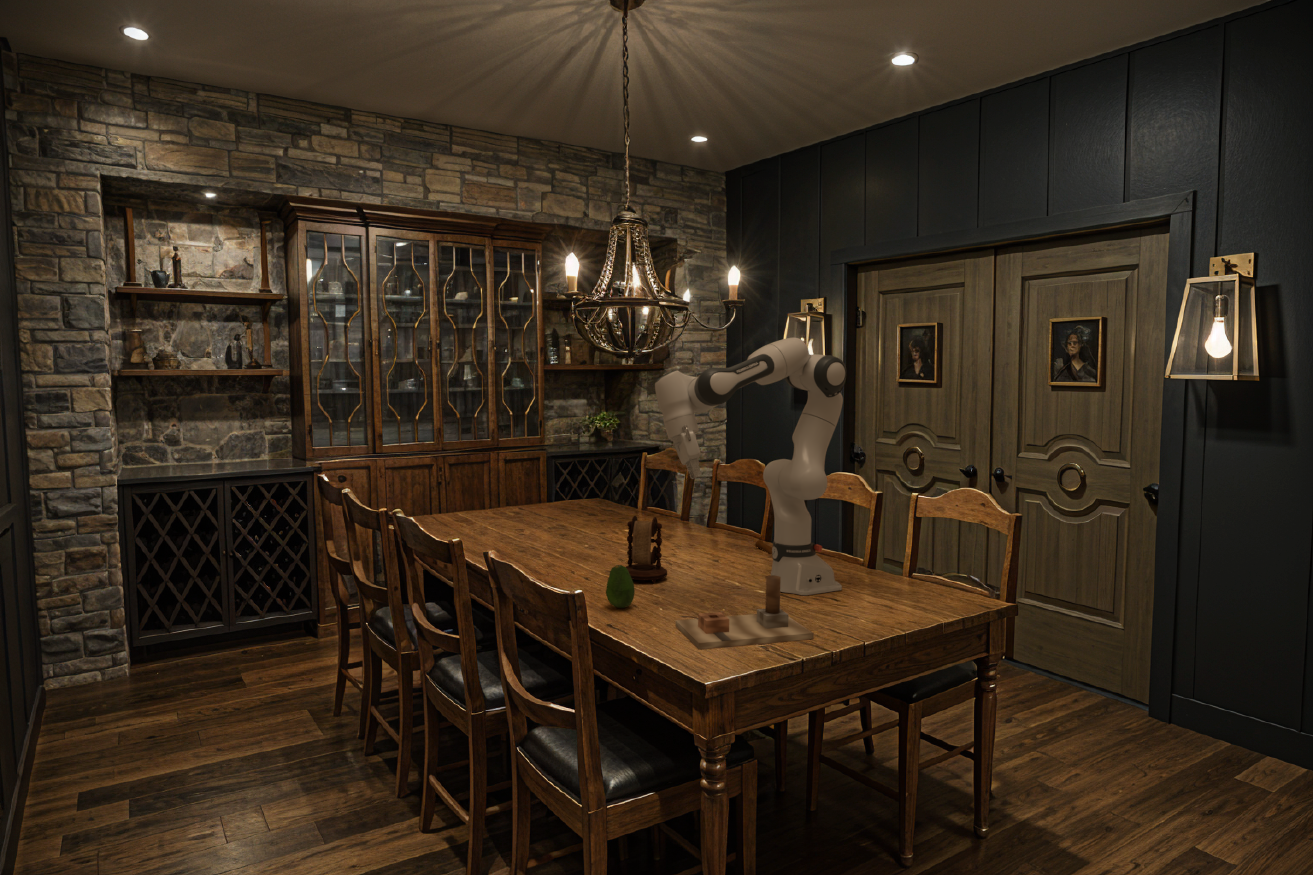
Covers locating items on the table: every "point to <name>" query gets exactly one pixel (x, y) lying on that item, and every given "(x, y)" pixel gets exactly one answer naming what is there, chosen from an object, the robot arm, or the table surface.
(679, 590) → the table surface
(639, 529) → the scroll
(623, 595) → the avocado
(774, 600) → the brown wooden peg
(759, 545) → the primitive tool
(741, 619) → the subfloor panel
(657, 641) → the table surface
